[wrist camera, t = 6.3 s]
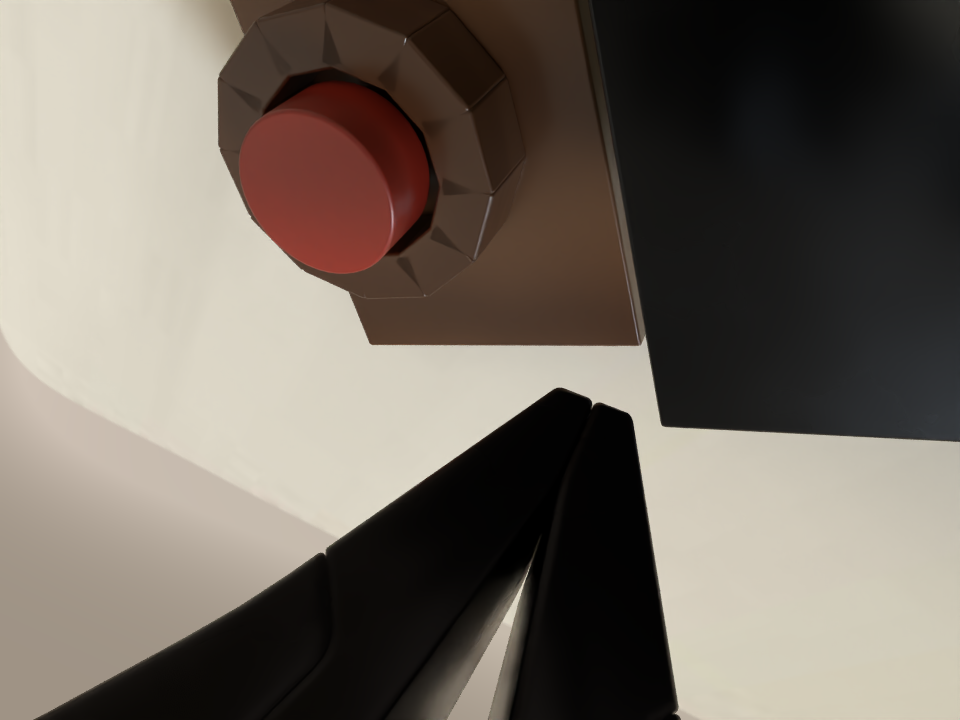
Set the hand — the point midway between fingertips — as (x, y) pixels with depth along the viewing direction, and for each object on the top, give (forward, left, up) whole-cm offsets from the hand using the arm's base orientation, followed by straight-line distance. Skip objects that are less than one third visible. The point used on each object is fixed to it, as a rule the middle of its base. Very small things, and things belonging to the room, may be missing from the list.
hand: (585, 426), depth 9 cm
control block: (0, +6, -11) cm, 13 cm away
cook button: (0, +7, -8) cm, 11 cm away
